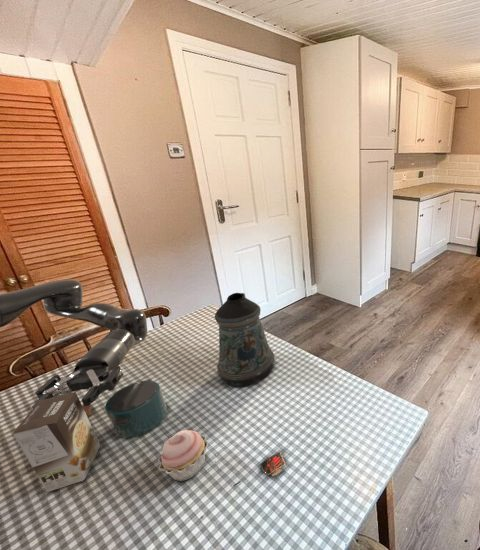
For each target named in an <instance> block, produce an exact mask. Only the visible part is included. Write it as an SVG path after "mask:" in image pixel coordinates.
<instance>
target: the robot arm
mask: <svg viewBox="0 0 480 550" xmlns="http://www.w3.org/2000/svg"><path fill="white" fill-rule="evenodd" d="M41 301H42V302H43V309H44V311H45V312H46V313H48V314H51V315H54V316H57V317H62V318H67V319H71V320H78V321H84V322H87V323H91V324H92V325H95V326H98V327H100V328H103V329H105V330H108V331H109V332H108V333H107V334H106V335H105V336H104V337H103V338H102V339H101V340H100V341H98V342H97V343H96V344H95V345H94V346H92V347H91V349H89V350H88V351H87V353H85V354H84V356H82V357H81V358H80V359H79V361H77V362H76V364H75V366H74V369H73V371H72V372H71V373H69V374H67V375H66V376H60V375H59V374H54V375H53V376H52V377H50V378H49V379H48V380H47V381H45V382H44V384H41V386H40V387H39V388H38V389H37V390H35V391H34V394H35V395H36V397H37V401H36V402H34V404H32V406H31V408H32V409H33V408H34V406H35V405H36V404H37V403H38V401H40V400H45V399H49V398H51V397H55V396H59V395H63V394H68V393H73V392H77V391H83V390H85V391H86V390H88V391H87V392H85V394H84V395H83V397H81V404H82V405H84V406H90V407H91V405H92V404H93V403H95V402H96V400H97V399H98V397H99V396H100V395H102V394H103V393H104V392H105V391H107V392H112V391H113V390H115V388H116V387H117V386H118V384H119V382H120V381H121V379H122V378H123V376H124V373H123V371H122V368H121V363H122V362H123V361H124V359H125V357H126V356H127V355H128V353H129V352H130V351H131V349H132V348H134V347H136V346H137V345H139V344H140V343H143V342H144V341H145V340H146V338H147V337H148V324H147V316H146V313H145V312H144V311H143V310H141V309H138V308H123V307H122V308H121V307H118V306H115V305H112V304H110V303H106V302H96V303H92V304H88V305H87V306H83V285H82V283H81V282H80V281H78V280H76V279H71V278H70V279H69V278H68V279H65V278H63V279H55V280H51V281H47V282H43V283H40V284H35V285H33V286H29V287H25V288H22V289H18V290H13V291H8V292H4V293H0V329H1V328H4V327H6V326H8V325H9V324H11V323H12V322H14V321H15V320H16V319H18V318H19V317H20V316H22V314H23V313H25V312H26V311H27V310H28V309H30V308H31V307H32V306H34V305H35V304H37V303H39V302H41ZM126 354H127V355H126ZM64 385H66V386H67V388H68V389H65V386H64ZM56 391H58V392H57V393H55V392H56ZM54 393H55V394H54Z"/></svg>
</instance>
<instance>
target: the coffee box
mask: <svg viewBox="0 0 480 550" xmlns="http://www.w3.org/2000/svg"><path fill="white" fill-rule="evenodd" d="M37 401H38V400H37ZM82 405H83V403H82V401H81V400H80V398H79V395H78V393H77V391H74V392H72V393H68V394H63V395H59V396H55V397H51V398H49V399H45V400H40V401H38V403H37V404H36V405H35V406H34V408H32V409H31V410H30V411H29V412H28V414H27V415H26V416H25V417H24V418H23V420H22V421H21V422H20V423H19V425H18V426H17V427H16V428H15V430H13V432H12V435H13V437H14V439H15V440H16V442H17V444H18V446H19V448H20V449H21V451H22V452H23V454H24V457H26V459H27V461H28V462H29V464H30V466H31V467H32V469H33V471H34V473H35V475H36V476H37V478H38V479H39V481H40V483H41V485H42V487H43V489H44V490H45V492H47V493H50V492H52V491H56V490H59V489H62V488H65V487H68V486H71V485H74V484H77V483H81V482H83V481H85V479H86V478H87V475H88V474H89V471H90V469H91V467H92V464H93V462H94V461H95V458H96V456H97V453H98V451H99V449H100V447H101V444H100V441H99V439H98V437H97V434H96V433H95V430H94V428H93V426H92V424H91V421H90V419H89V416H88V417H87V415H86V413H85V411H84V409H83V406H82Z"/></svg>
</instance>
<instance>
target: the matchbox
mask: <svg viewBox="0 0 480 550" xmlns="http://www.w3.org/2000/svg"><path fill="white" fill-rule="evenodd" d="M285 465H286V462H285V459H284V455H283V452H282V451H276V452H275V453H273V454H272V455H271V456H269V457H267V458H265V459H264V461H263V462H262V463H260V467H261V469H262V472H263V473H264V474H266V475H267V476H269V475H271V476H272V477H275V476H277V475H278V474H280V473H281V472H282V471H283V469H282V467H284V466H285Z"/></svg>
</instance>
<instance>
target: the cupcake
mask: <svg viewBox="0 0 480 550" xmlns="http://www.w3.org/2000/svg"><path fill="white" fill-rule="evenodd" d="M206 439H207V436H206V435H200V433H199V432H197V430H189V429H184V430H180V431H177V432H176V433H175V434H174V435H172V436H171V437H169V438H168V439H167V440H166V441H165V442H164V444H163V446H162V453H161V455H160V456H159V457H158V459H157V462H158V463H160V464H159V465H158V470H159V471H162V472H165V473H166V474H167V475H168V476H170V477H171V478H172V479H173V480H175V481H179V482H185V481H187V480H189V479H192V478H193V477H195V476H196V475H197V474H198V473H199V472H201V470H202V469H203V467H204V466H205V462H206V451H207V449H208V445H209V442H208V441H206Z"/></svg>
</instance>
